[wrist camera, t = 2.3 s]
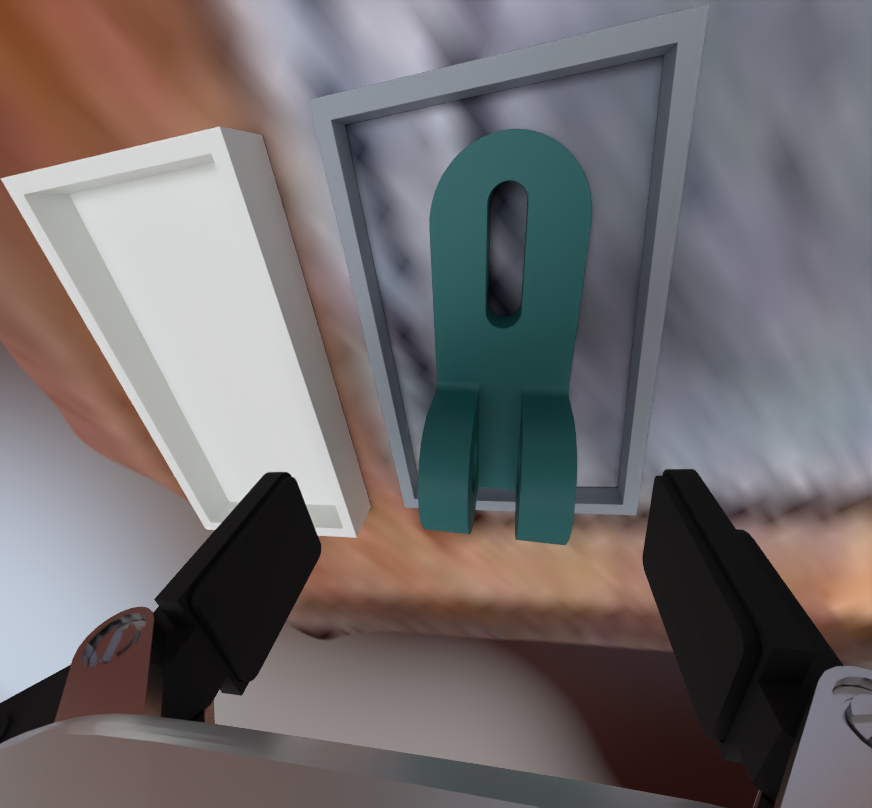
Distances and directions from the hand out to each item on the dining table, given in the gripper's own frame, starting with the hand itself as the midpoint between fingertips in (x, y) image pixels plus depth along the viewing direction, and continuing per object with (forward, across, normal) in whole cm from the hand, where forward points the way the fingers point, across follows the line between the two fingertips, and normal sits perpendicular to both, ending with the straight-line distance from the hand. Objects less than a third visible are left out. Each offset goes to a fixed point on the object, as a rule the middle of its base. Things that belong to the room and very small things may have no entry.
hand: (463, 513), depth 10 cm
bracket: (+13, -1, 0) cm, 13 cm away
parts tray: (+13, +16, 0) cm, 21 cm away
